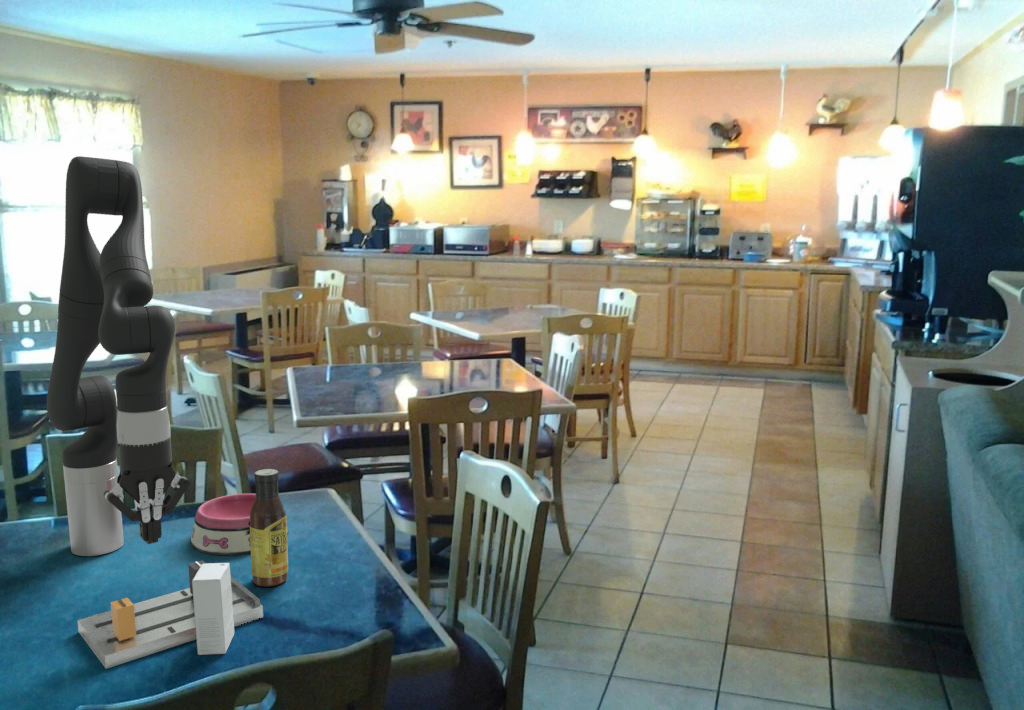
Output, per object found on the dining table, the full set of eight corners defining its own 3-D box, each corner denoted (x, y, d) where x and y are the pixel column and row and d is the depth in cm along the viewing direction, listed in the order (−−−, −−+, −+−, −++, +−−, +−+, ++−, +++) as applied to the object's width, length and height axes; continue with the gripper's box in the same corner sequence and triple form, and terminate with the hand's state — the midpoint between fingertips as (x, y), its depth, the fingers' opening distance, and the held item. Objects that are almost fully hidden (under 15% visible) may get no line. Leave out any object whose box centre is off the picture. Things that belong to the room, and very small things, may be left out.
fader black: (190, 592, 145) (188, 563, 144) (204, 588, 146) (202, 559, 145) (197, 599, 142) (195, 569, 141) (211, 594, 144) (209, 565, 143)
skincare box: (206, 635, 135) (202, 562, 133) (235, 634, 136) (230, 561, 134) (196, 656, 129) (191, 580, 127) (225, 654, 130) (221, 579, 128)
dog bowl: (257, 514, 187) (255, 483, 186) (306, 537, 174) (304, 504, 173) (173, 538, 174) (171, 505, 173) (220, 565, 161) (218, 530, 160)
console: (78, 632, 136) (76, 614, 136) (227, 587, 152) (226, 571, 151) (105, 668, 126) (104, 649, 125) (263, 617, 141) (262, 600, 141)
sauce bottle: (278, 590, 151) (273, 479, 147) (245, 586, 152) (239, 477, 148) (295, 574, 157) (290, 467, 154) (263, 571, 158) (257, 465, 155)
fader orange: (113, 633, 131) (110, 601, 130) (129, 628, 133) (127, 596, 132) (119, 641, 129) (116, 608, 128) (136, 635, 131) (133, 603, 130)
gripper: (178, 423, 142) (184, 524, 145) (91, 437, 133) (99, 544, 137) (196, 434, 136) (201, 539, 139) (105, 449, 128) (114, 560, 131)
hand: (151, 541), depth 138 cm, fingers closed
